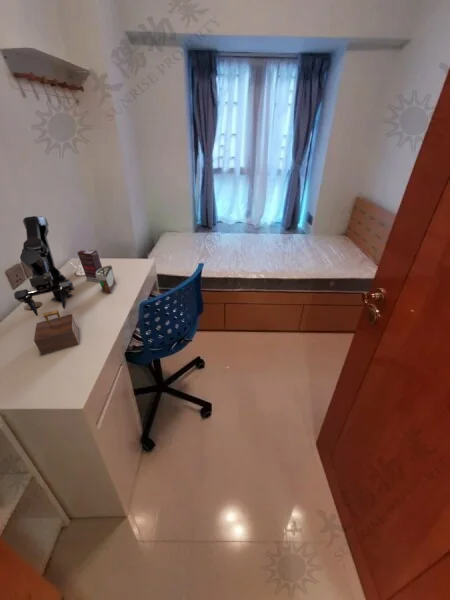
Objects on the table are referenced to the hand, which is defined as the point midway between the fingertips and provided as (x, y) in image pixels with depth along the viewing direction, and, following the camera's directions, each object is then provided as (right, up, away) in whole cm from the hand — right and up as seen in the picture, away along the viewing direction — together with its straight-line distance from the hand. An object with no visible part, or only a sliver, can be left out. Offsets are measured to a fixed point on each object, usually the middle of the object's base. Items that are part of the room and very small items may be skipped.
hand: (50, 312), depth 105 cm
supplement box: (-3, +15, +43) cm, 46 cm away
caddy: (+3, -11, +2) cm, 12 cm away
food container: (+7, +10, +34) cm, 36 cm away
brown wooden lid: (+2, -6, -1) cm, 6 cm away
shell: (-13, +20, +51) cm, 56 cm away
